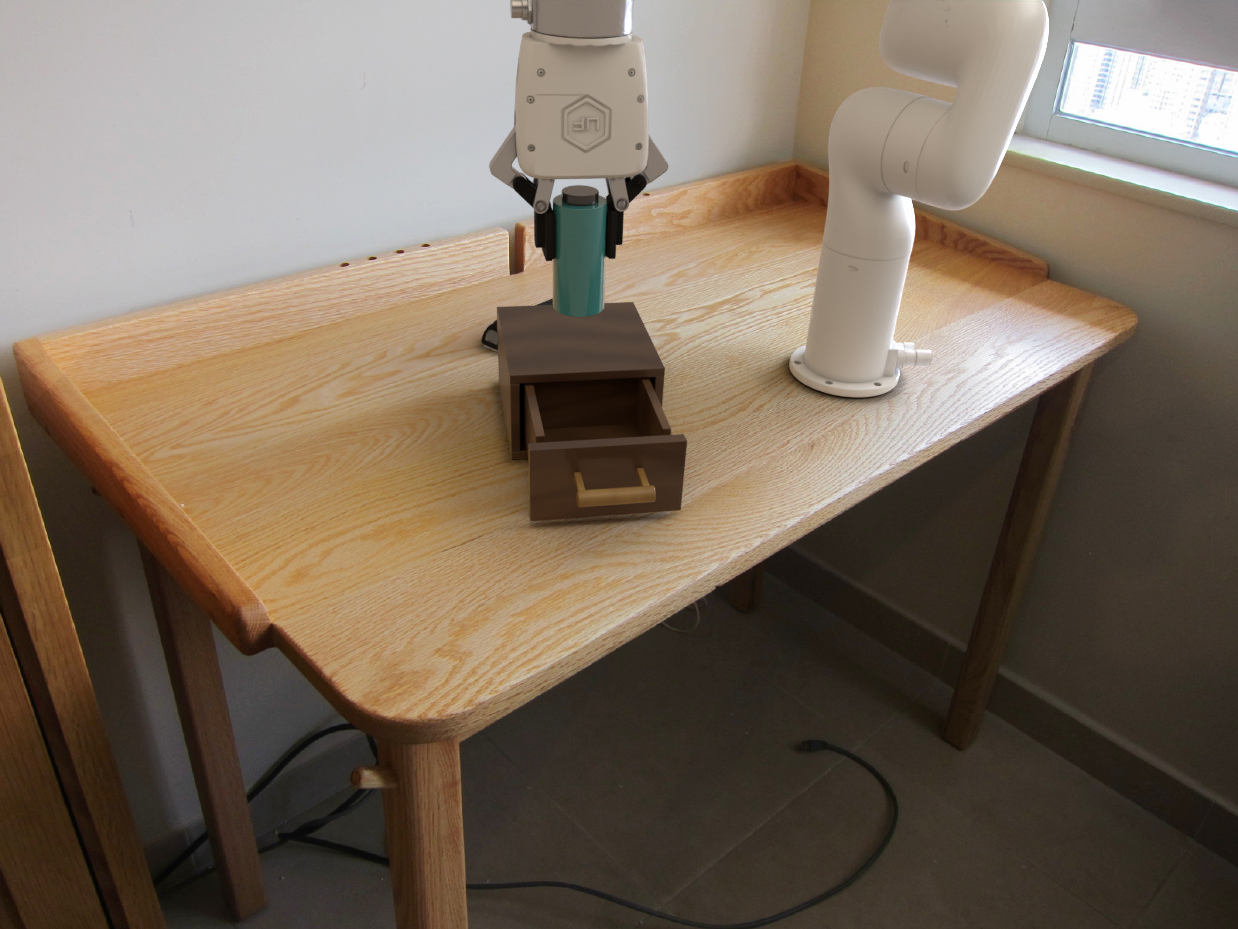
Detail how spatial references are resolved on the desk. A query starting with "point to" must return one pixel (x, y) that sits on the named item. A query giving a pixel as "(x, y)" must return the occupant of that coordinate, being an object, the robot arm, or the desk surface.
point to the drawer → (600, 449)
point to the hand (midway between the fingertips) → (578, 251)
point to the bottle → (579, 251)
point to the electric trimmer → (491, 334)
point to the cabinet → (569, 354)
